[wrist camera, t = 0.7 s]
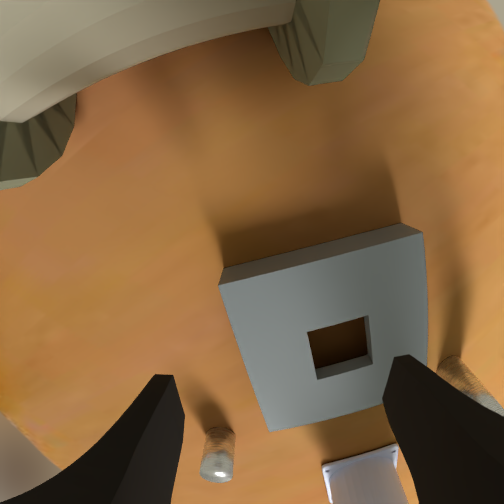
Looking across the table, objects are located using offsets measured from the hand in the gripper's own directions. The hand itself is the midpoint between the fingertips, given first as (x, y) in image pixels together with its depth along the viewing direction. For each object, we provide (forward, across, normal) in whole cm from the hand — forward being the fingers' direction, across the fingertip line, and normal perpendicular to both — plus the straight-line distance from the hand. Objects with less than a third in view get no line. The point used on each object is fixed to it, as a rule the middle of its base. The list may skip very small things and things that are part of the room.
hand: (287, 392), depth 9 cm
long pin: (+10, -16, +10) cm, 21 cm away
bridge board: (+10, -4, +5) cm, 12 cm away
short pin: (+10, +4, +16) cm, 19 cm away
